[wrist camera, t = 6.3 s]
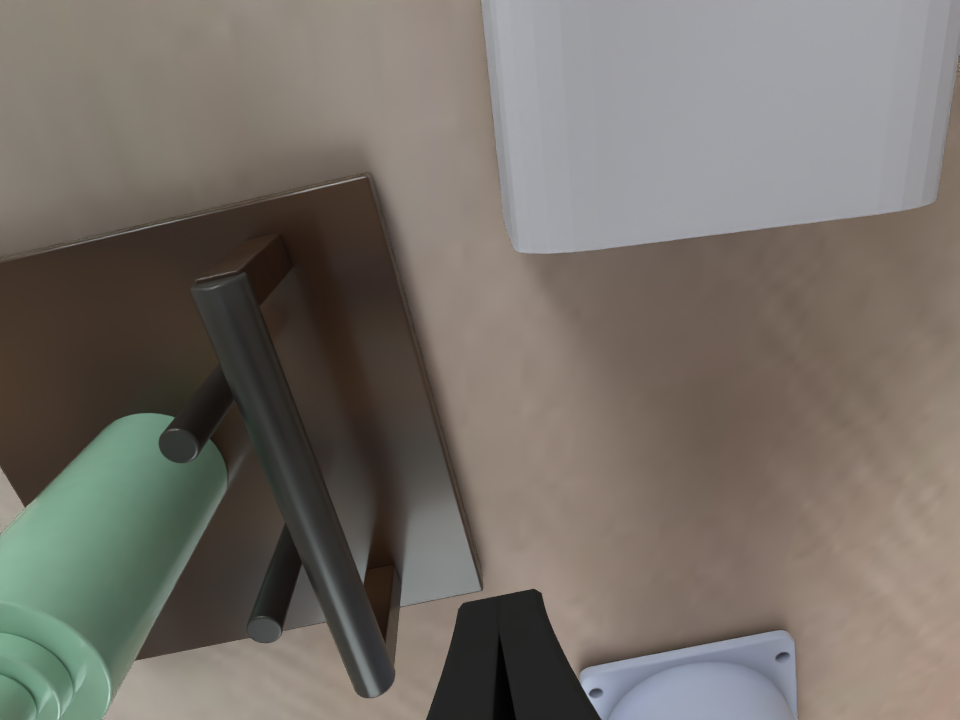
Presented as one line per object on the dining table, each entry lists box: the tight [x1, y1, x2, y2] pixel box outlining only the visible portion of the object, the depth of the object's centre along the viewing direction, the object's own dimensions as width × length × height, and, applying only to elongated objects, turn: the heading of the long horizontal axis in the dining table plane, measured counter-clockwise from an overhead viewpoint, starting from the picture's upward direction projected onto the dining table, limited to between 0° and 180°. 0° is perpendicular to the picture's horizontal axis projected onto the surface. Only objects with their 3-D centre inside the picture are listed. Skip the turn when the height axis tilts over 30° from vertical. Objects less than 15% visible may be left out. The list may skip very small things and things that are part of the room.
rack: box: [0, 172, 483, 698], centre depth 18 cm, size 14×13×5 cm
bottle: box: [0, 413, 227, 720], centre depth 15 cm, size 4×8×10 cm
